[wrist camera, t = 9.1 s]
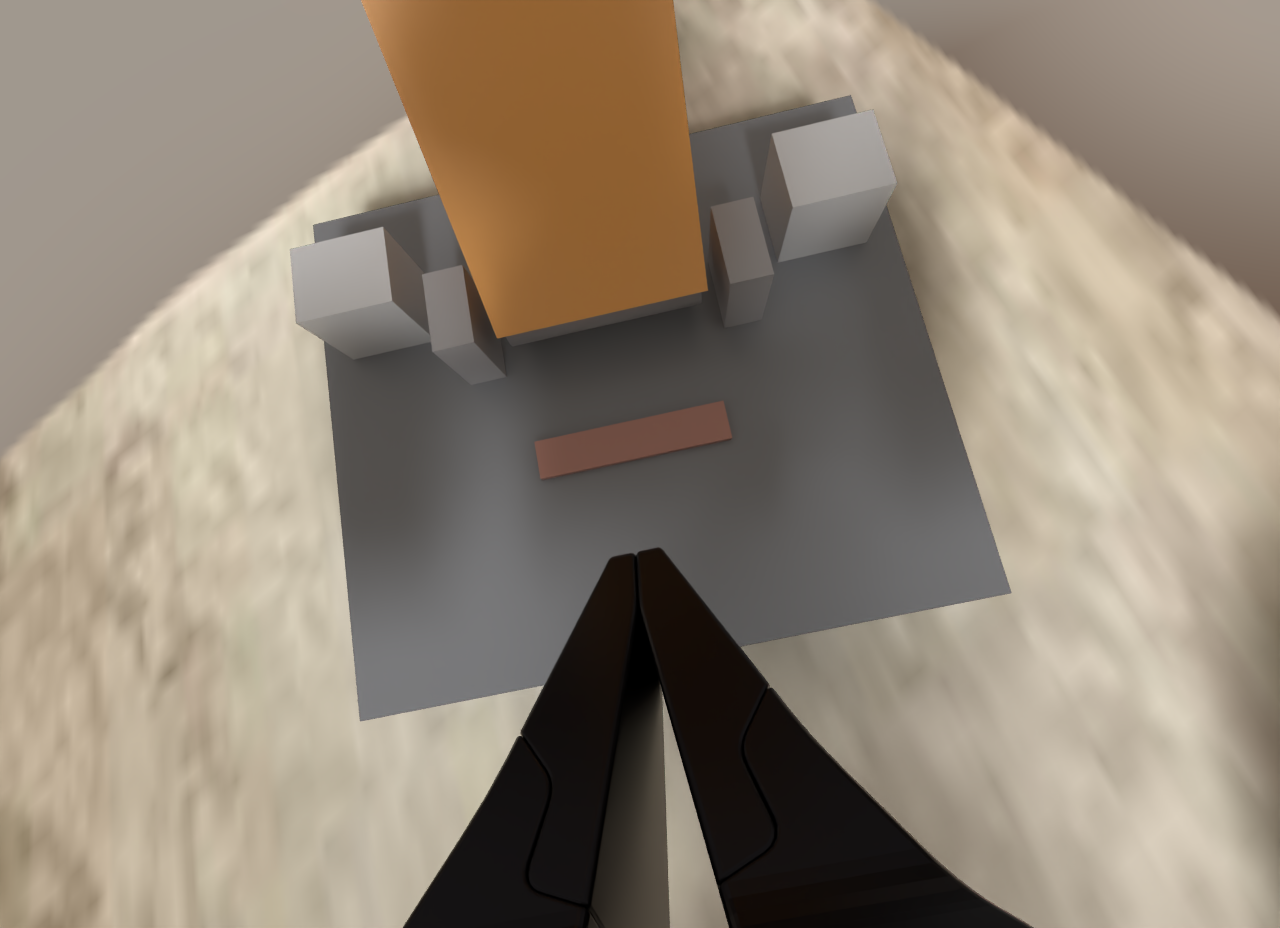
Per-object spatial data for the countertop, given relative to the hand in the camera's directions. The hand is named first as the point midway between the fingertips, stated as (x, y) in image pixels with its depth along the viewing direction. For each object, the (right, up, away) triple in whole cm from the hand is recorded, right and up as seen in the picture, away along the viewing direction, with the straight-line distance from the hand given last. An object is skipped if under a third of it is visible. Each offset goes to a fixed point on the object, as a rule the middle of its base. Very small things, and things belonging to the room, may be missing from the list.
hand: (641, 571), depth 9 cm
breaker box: (0, +3, +9) cm, 9 cm away
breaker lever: (-1, +6, +5) cm, 8 cm away
